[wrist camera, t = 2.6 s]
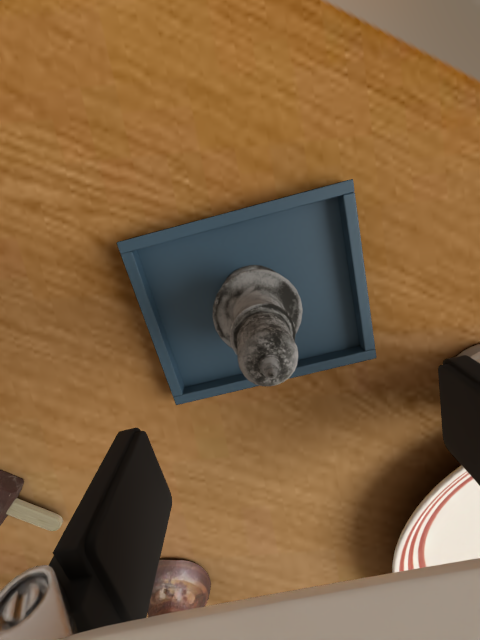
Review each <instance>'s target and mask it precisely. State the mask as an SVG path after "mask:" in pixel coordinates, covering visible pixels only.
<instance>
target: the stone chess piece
mask: <svg viewBox="0 0 480 640" xmlns="http://www.w3.org/2000/svg"><path fill="white" fill-rule="evenodd" d="M302 311H303V310H302V303H301V299H300V296H299V294H298V292H297V290H296V288H295V287H294V286H293V285H292V284H291V283H290V281H289V280H288V279H286V278H285V277H283V276H282V275H280V274H278V273H276V272H275V271H273V270H272V269H270V268H267V267H264V266H261V265H250V266H245V267H242V268H240V269H238V270H236V271H234V272H233V273H232V274H231V275H230V276H228V277H227V279H226V280H225V282H224V283H223V285H222V287H221V289H220V290H219V292H218V293H217V295H216V298H215V301H214V305H213V321H214V325H215V329H216V331H217V332H218V334H219V336H220V338H221V339H222V340H223V341H224V342H225V343H226V344H227V345H228V346H229V347H231V348H233V350H234V352H235V354H236V355H237V356H238V364H239V368H240V369H241V371H242V373H243V375H244V376H245V377H246V378H247V379H248V380H249V381H250V382H252V383H254V384H256V385H260V386H274V385H278V384H280V383H282V382H284V381H285V380H287V379H288V378H289V377H290V376H291V375H292V374H293V372H294V371H295V369H296V366H297V363H298V349H297V345H296V343H295V335H296V333H297V331H298V329H299V326H300V324H301V320H302Z"/></svg>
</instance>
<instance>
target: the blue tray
mask: <svg viewBox="0 0 480 640" xmlns="http://www.w3.org/2000/svg"><path fill="white" fill-rule="evenodd" d="M117 246H118V248H119V251H120V253H121V257H122V259H123V262H124V265H125V268H126V270H127V273H128V276H129V278H130V281H131V284H132V287H133V289H134V292H135V295H136V297H137V300H138V303H139V306H140V308H141V311H142V314H143V316H144V319H145V322H146V325H147V327H148V330H149V333H150V335H151V338H152V341H153V344H154V346H155V349H156V352H157V354H158V357H159V360H160V363H161V365H162V368H163V371H164V373H165V376H166V379H167V382H168V384H169V387H170V390H171V392H172V395H173V398H174V400H175V403H176V405H179V404H183V403H187V402H191V401H196V400H200V399H204V398H208V397H213V396H217V395H221V394H226V393H230V392H234V391H238V390H243V389H247V388H251V387H255V386H260V385H256V384H254V383H252V382H250V381H249V380H248V379H247V378H246V377H245V376H244V375H243V373H242V371H241V369H240V368H239V364H238V356H237V355H236V354H235V352H234V350H233V348H231V347H229V346H228V345H227V344H226V343H225V342H224V341H223V340H222V339H221V338H220V336H219V334H218V332H217V331H216V329H215V325H214V321H213V305H214V301H215V298H216V295H217V293H218V292H219V290H220V289H221V287H222V285H223V283H224V282H225V280H226V279H227V277H228V276H230V275H231V274H232V273H233V272H234V271H236V270H238V269H240V268H242V267H245V266H250V265H261V266H264V267H267V268H270V269H272V270H273V271H275V272H276V273H278V274H280V275H282V276H283V277H285V278H286V279H288V280H289V281H290V283H291V284H292V285H293V286H294V287H295V288H296V290H297V292H298V294H299V296H300V299H301V303H302V310H303V311H302V320H301V324H300V326H299V329H298V331H297V333H296V335H295V343H296V345H297V349H298V363H297V366H296V369H295V371H294V372H293V374H292V375H291V376H290V377H289V378H294V377H298V376H302V375H306V374H311V373H315V372H319V371H323V370H328V369H332V368H336V367H340V366H345V365H349V364H353V363H357V362H362V361H366V360H370V359H374V358H376V351H375V344H374V336H373V329H372V321H371V313H370V306H369V298H368V291H367V283H366V275H365V268H364V260H363V253H362V245H361V237H360V230H359V222H358V215H357V207H356V199H355V193H354V183H353V179H351V180H347V181H343V182H339V183H336V184H332V185H328V186H324V187H321V188H317V189H313V190H309V191H306V192H302V193H298V194H295V195H291V196H287V197H283V198H280V199H276V200H272V201H268V202H265V203H261V204H257V205H254V206H250V207H246V208H242V209H239V210H235V211H231V212H228V213H224V214H220V215H216V216H213V217H209V218H205V219H201V220H198V221H194V222H190V223H187V224H183V225H179V226H175V227H172V228H168V229H164V230H161V231H157V232H153V233H149V234H146V235H142V236H138V237H134V238H131V239H127V240H123V241H120V242H117ZM289 378H288V379H289Z"/></svg>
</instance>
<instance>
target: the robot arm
mask: <svg viewBox="0 0 480 640" xmlns="http://www.w3.org/2000/svg"><path fill="white" fill-rule="evenodd" d="M438 375H439V389H440V403H441V418H442V432H443V440H444V443H445V445H446V447H447V449H448V450H449V451H450V453H451V454H452V455H453V456H454V457H455V458H456V459H457V460H458V462H459V463H460V464H461V465H462V466H463V467H464V468H465V470H466V471H467V472H468V473H469V474H470V475H471V476H472V478H473V479H474V480H475V481H476V482H477V483H478V484H479V485H480V363H479V362H477V361H475V360H474V359H472V358H471V357H469V356H467V355H462V356H458V357H453V358H449V359H445V360H444V361H443V365H440V366H439V368H438ZM171 507H172V497H171V493H170V490H169V488H168V485H167V483H166V480H165V478H164V476H163V473H162V471H161V468H160V466H159V463H158V461H157V458H156V456H155V453H154V451H153V449H152V446H151V444H150V441H149V439H148V436H147V434H146V432H145V431H140V429H139V428H133V429H128V430H124V431H120V432H119V433H118V434H117V436H116V438H115V440H114V441H113V443H112V445H111V447H110V449H109V451H108V452H107V454H106V456H105V458H104V460H103V462H102V463H101V465H100V467H99V469H98V471H97V473H96V474H95V476H94V478H93V480H92V482H91V484H90V485H89V487H88V489H87V491H86V493H85V495H84V496H83V498H82V500H81V502H80V504H79V506H78V507H77V509H76V511H75V513H74V515H73V517H72V518H71V520H70V522H69V524H68V526H67V528H66V530H65V531H64V533H63V535H62V537H61V539H60V541H59V542H58V544H57V546H56V548H55V550H54V552H53V554H54V557H53V559H52V560H51V562H50V564H49V566H47V565H41V566H36V567H33V568H31V569H28V570H26V571H25V572H23V573H21V574H20V575H18V576H17V577H15V578H14V579H13V580H12V581H11V582H10V583H8V584H7V585H6V586H5V587H4V588H3V589H2V590H1V591H0V640H480V558H477V559H471V560H465V561H459V562H453V563H447V564H441V565H436V566H430V567H424V568H418V569H412V570H406V571H400V572H395V573H389V574H383V575H378V576H372V577H366V578H361V579H355V580H349V581H344V582H338V583H332V584H327V585H321V586H315V587H310V588H304V589H298V590H293V591H287V592H282V593H276V594H270V595H265V596H260V597H254V598H249V599H243V600H238V601H232V602H227V603H221V604H216V605H210V606H205V607H200V608H194V609H189V610H183V611H178V612H172V613H167V614H162V615H157V616H152V617H148V618H146V617H147V612H148V608H149V603H150V599H151V595H152V590H153V586H154V581H155V577H156V573H157V568H158V564H159V560H160V555H161V551H162V546H163V542H164V538H165V533H166V529H167V524H168V520H169V516H170V511H171Z"/></svg>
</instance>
